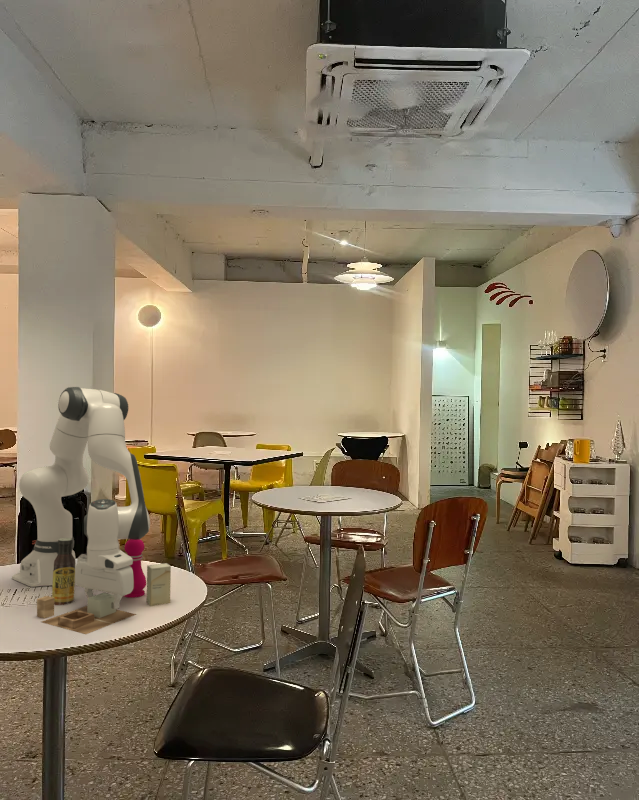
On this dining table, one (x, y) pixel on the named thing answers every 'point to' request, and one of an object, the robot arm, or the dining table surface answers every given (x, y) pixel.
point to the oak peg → (45, 607)
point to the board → (86, 620)
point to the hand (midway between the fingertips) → (103, 605)
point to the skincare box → (158, 584)
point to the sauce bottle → (64, 573)
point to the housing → (100, 605)
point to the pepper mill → (136, 567)
